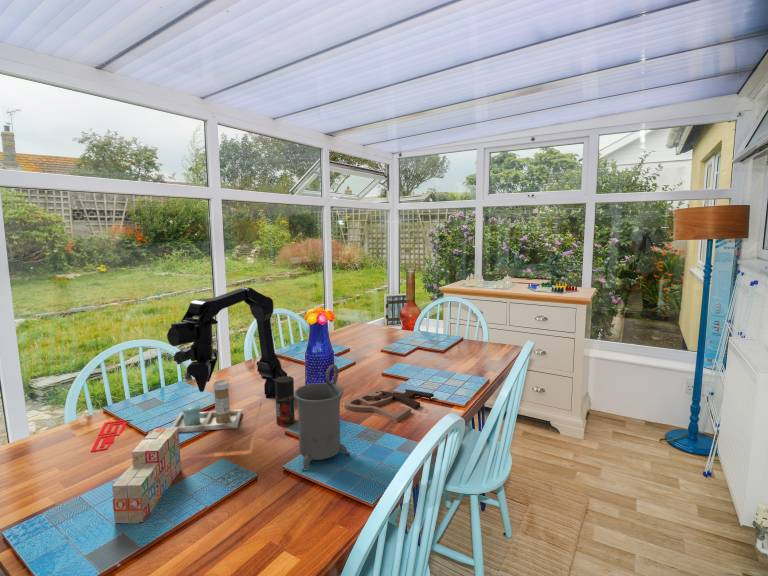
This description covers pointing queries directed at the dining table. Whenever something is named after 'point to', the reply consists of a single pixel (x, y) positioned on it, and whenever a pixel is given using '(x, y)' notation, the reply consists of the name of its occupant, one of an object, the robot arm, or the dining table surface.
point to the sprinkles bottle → (222, 401)
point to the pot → (191, 414)
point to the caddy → (208, 422)
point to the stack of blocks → (147, 475)
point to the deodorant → (284, 400)
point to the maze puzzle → (108, 440)
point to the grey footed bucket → (319, 419)
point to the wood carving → (385, 402)
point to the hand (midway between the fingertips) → (204, 386)
